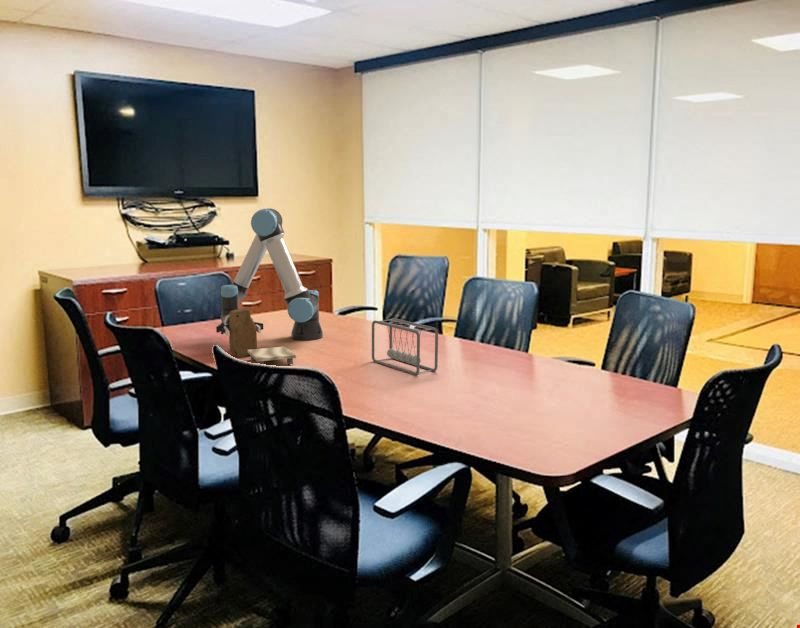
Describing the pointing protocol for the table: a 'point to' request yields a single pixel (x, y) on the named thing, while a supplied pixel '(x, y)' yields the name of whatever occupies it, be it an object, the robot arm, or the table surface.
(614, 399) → the table surface
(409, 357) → the newton's cradle
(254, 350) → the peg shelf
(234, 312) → the block
